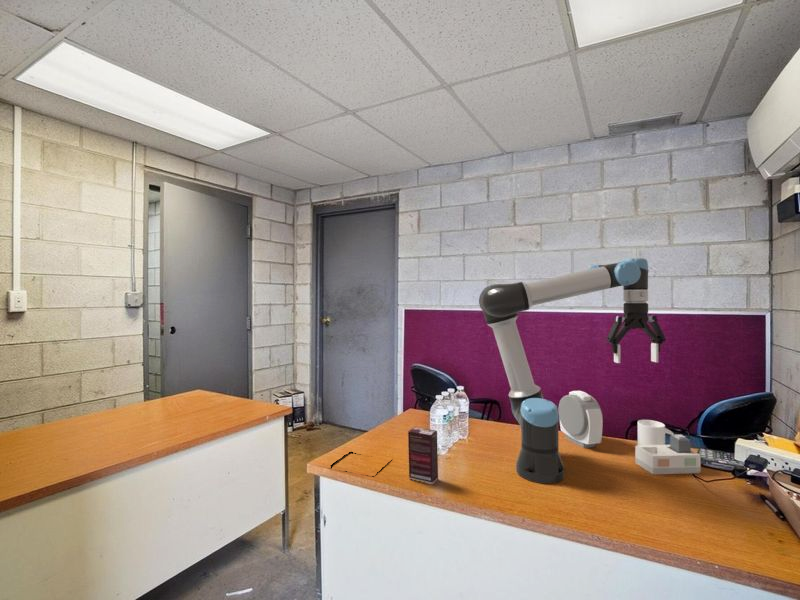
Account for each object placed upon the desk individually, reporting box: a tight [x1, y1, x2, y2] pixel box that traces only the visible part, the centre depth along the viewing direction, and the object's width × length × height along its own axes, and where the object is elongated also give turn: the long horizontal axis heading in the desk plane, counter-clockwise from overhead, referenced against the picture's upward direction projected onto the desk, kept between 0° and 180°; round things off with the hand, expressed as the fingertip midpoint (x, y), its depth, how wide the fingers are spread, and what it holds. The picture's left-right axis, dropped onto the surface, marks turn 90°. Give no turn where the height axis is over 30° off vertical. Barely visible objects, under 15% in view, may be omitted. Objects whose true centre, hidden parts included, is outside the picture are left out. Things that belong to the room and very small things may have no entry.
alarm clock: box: [558, 390, 604, 449], centre depth 156 cm, size 18×8×20 cm, turn 14°
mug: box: [637, 419, 676, 445], centre depth 145 cm, size 9×12×11 cm
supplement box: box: [407, 426, 439, 485], centre depth 127 cm, size 9×5×16 cm, turn 61°
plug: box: [669, 434, 692, 453], centre depth 133 cm, size 4×4×9 cm
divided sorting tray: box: [634, 444, 702, 475], centre depth 132 cm, size 16×9×6 cm, turn 92°
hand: (635, 362), depth 139 cm, fingers open, 13 cm apart
